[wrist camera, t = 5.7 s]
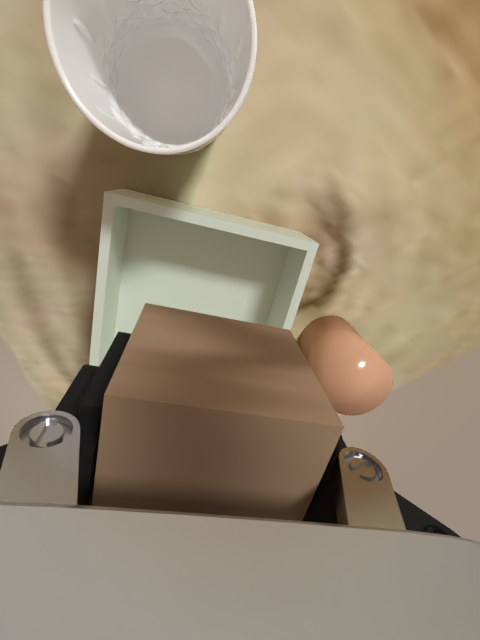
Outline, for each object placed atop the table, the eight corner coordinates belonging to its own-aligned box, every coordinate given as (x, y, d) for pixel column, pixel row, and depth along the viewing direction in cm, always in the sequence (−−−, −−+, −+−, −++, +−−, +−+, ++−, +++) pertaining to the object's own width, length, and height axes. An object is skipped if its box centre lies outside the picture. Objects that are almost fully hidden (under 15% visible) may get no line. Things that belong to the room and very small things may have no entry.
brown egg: (362, 321, 30) (404, 362, 23) (342, 369, 31) (376, 419, 25) (309, 310, 29) (338, 350, 22) (292, 360, 31) (314, 410, 24)
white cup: (245, 152, 23) (269, 137, 14) (133, 171, 23) (85, 168, 14) (225, 8, 20) (240, -129, 11) (96, 29, 20) (3, -92, 11)
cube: (289, 329, 12) (344, 427, 7) (253, 439, 14) (279, 572, 9) (145, 303, 11) (104, 394, 6) (127, 424, 13) (85, 563, 8)
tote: (299, 231, 26) (319, 243, 21) (245, 410, 32) (251, 448, 28) (124, 188, 24) (104, 191, 19) (102, 389, 30) (83, 428, 25)
